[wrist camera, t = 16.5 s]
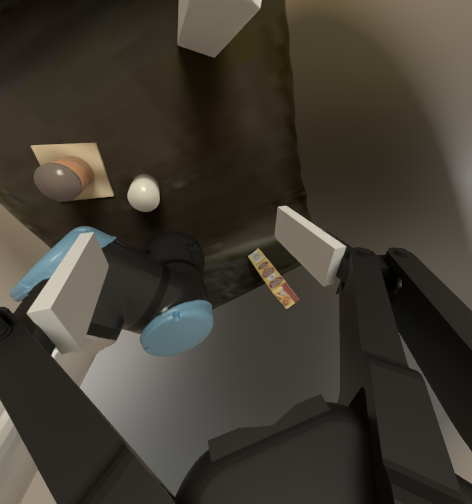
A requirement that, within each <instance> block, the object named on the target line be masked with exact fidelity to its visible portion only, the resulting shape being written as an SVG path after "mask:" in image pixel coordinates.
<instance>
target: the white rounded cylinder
mask: <svg viewBox="0 0 472 504" xmlns="http://www.w3.org/2000/svg"><path fill="white" fill-rule="evenodd" d="M128 200H129V203H130V204H131V205H132V206H133V207H134V208H135V209H137V210H139V211H142V212H149V211H152V210H154V209H155V208H156V207H157V206H158V204H159V201H160V194H159V184H158V182H157V180H156V179H155V178H154V177H152V176H151V175H148V174H140V175H137V176H136V177H135V178H134V179H133V181H132V184H131V186H130V189H129V191H128Z"/></svg>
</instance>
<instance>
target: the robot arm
mask: <svg viewBox="0 0 472 504" xmlns="http://www.w3.org/2000/svg"><path fill="white" fill-rule="evenodd" d="M275 238H276V239H277V240H278V241H279V242H280V243H281V244H282V245H283V246H284V247H285V248H286V249H287V250H288V251H289V252H290V253H291V254H292V255H293V256H294V257H295V258H296V259H297V260H298V261H299V262H300V263H301V264H302V265H303V266H304V267H305V268H306V269H307V270H308V271H309V272H310V273H311V274H312V275H313V276H314V277H315V278H316V279H317V280H318V281H319V282H320V283H321V284H322V285H323V286H327V285H331V284H334V282H335V279H336V276H337V277H338V278H339V279H341V281H340V284H339V286H338V289H337V292H336V294H338V293H339V311H340V312H339V316H340V394H339V399H338V403H334V402H325V400H324V398H323V397H322V395H321V394H320V395H317V396H315V397H313V398H310V399H308V400H305V401H303V402H301V403H298V404H296V405H295V406H294V407H293V408H291V409H290V410H289V411H288V412H287V413H286V414H285V415H284V416H283V417H282V418H280V419H279V420H278V421H277V422H276V423H275V424H274V425H271V426H262V427H248V428H247V427H246V428H238V429H235V430H233V431H230V432H228V433H225V434H223V435H221V436H218V437H216V438H213V439H211V440H209V441H208V446H209V450H208V451H206V452H205V453H204V454H203V455H202V456H201V457H200V458H199V459H198V460H197V461H196V462H195V463H194V465H193V466H192V468H191V469H190V470H189V472H188V473H187V475H186V477H185V478H184V480H183V482H182V484H181V486H180V488H179V490H178V492H177V494H176V497H174V496H173V494H172V493H171V492H170V491H169V490H168V489H167V488H166V486H165V485H164V484H163V483H162V482H161V481H160V480H159V478H158V477H157V476H156V475H155V474H154V473H153V472H152V471H151V470H150V468H149V467H148V466H147V465H146V464H145V463H144V461H143V460H142V459H141V458H140V457H139V456H138V455H137V453H136V452H135V451H134V450H133V449H132V448H131V447H130V445H129V444H128V443H127V442H126V441H125V440H124V438H123V437H122V436H121V435H120V434H119V433H118V432H117V430H116V429H115V428H114V427H113V426H112V425H111V423H110V422H109V421H108V420H107V419H106V418H105V417H104V416H103V414H102V413H101V412H100V411H99V410H98V409H97V407H96V406H95V405H94V404H93V403H92V402H91V401H90V399H89V398H88V397H87V396H86V395H85V394H84V392H83V391H82V390H81V389H80V388H79V387H80V385H81V383H82V381H83V379H84V377H85V375H86V373H87V371H88V369H89V368H90V366H91V364H92V362H93V360H94V358H95V356H96V354H97V353H98V352H99V351H100V350H102V349H104V348H106V347H108V346H110V345H112V344H113V343H115V342H116V340H117V338H118V336H119V334H120V332H121V330H122V329H125V330H129V331H132V332H135V333H139V334H141V336H140V342H141V344H142V346H143V347H144V350H145V351H146V352H147V353H149V354H151V355H155V356H171V355H176V354H180V353H182V352H184V351H188V350H190V349H192V348H193V347H195V346H197V345H198V344H199V343H201V342H202V341H203V340H204V339H205V338H206V337H207V336H208V335H209V333H210V331H211V329H212V327H213V315H212V305H211V304H210V301H209V298H208V294H207V291H206V288H205V284H204V281H203V277H202V272H203V268H204V255H203V252H202V249H201V247H200V245H199V244H198V242H197V241H196V240H194V239H193V238H192V237H190V236H188V235H185V234H182V233H176V232H169V233H163V234H160V235H157V236H155V237H153V238H152V239H150V240H149V241H148V242H147V243H146V244H145V245H144V246H143V248H142V250H141V252H140V251H138V250H136V249H134V248H132V247H130V246H129V245H127V244H125V243H123V242H121V241H120V240H118V239H117V238H116V237H112V236H110V235H107V234H105V233H103V232H101V231H99V230H97V229H95V228H92V227H89V226H81V227H78V228H75V229H74V230H72V231H71V232H70V233H68V234H67V235H66V236H65V237H64V238H63V239H62V240H60V241H59V242H58V243H57V244H56V245H55V246H54V247H53V248H52V249H51V250H50V251H49V252H48V253H47V254H46V255H45V256H44V257H43V258H42V259H41V260H40V261H39V262H38V263H37V264H36V265H35V266H34V267H33V268H32V269H31V270H30V271H29V272H28V273H27V275H26V276H24V277H23V279H22V280H21V281H20V282H19V283H17V285H16V286H15V287H14V288H13V289H12V290H11V292H10V297H12V298H13V299H14V300H15V301H18V302H19V301H20V300H21V301H22V302H21V304H20V305H19V307H18V308H17V309H16V311H15V312H14V313H11V311H10V310H9V309H8V308H6V307H0V504H20V503H21V501H22V499H23V497H24V495H25V493H26V492H27V489H28V488H29V486H30V484H31V482H32V479H33V478H34V476H35V474H36V472H37V470H39V472H40V474H41V475H42V477H43V479H44V481H45V483H46V485H47V487H48V488H49V490H50V492H51V494H52V496H53V497H54V499H55V501H56V503H57V504H472V484H471V483H469V482H468V481H466V480H465V479H463V478H461V477H460V476H458V475H457V474H455V473H454V469H453V467H452V463H451V460H450V457H449V454H448V451H447V448H446V445H445V442H444V439H443V436H442V433H441V430H440V427H439V424H438V421H437V418H436V415H435V412H434V409H433V406H432V403H431V400H430V397H429V394H428V391H427V387H426V384H425V381H424V379H423V377H422V375H421V374H420V373H419V372H418V371H416V370H413V369H410V368H409V366H408V364H407V360H406V357H405V353H404V350H403V346H402V343H401V340H400V336H399V333H400V335H401V336H402V338H403V340H404V341H405V343H406V344H407V347H408V348H409V350H410V352H411V353H412V355H413V357H414V359H415V360H416V362H417V364H418V365H419V367H420V369H421V371H422V372H423V374H424V376H425V377H426V379H427V381H428V382H429V384H430V386H431V388H432V389H433V391H434V392H435V395H436V396H437V398H438V400H439V401H440V403H441V405H442V407H443V408H444V410H445V412H446V413H447V415H448V417H449V418H450V420H451V422H452V423H453V424H454V426H455V428H456V429H457V431H458V432H459V434H460V435H461V437H462V438H463V440H464V441H465V443H466V444H467V445H468V447H469V448H470V450H471V451H472V311H471V310H470V309H469V308H468V307H467V306H466V305H465V304H464V303H463V302H462V301H461V300H460V299H459V298H458V297H457V296H456V295H455V294H454V293H453V292H452V291H451V290H450V289H449V288H448V287H447V286H446V285H445V284H444V283H443V282H442V281H440V280H439V279H438V278H437V277H436V276H435V275H434V274H433V273H432V272H431V271H430V270H429V269H428V268H427V267H426V266H425V265H424V264H423V263H422V262H421V261H420V260H419V259H418V258H417V257H416V256H415V255H414V254H413V253H411V252H409V251H407V250H406V249H402V248H389V249H388V251H387V253H386V255H376V254H375V253H374V252H373V251H371V250H369V249H365V248H360V247H357V248H352V247H351V246H349V245H348V244H346V243H345V242H343V241H341V240H340V239H339V238H337V237H336V236H334V235H332V234H331V233H330V232H327V231H325V230H322V229H320V228H318V227H317V226H315V225H314V224H312V223H311V222H309V221H308V220H306V219H305V218H303V217H302V216H301V215H299V214H298V213H296V212H295V211H293V210H292V209H290V208H289V207H287V206H281V207H278V209H277V218H276V228H275ZM401 282H402V287H401V286H400V284H401ZM398 331H399V332H398Z"/></svg>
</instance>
